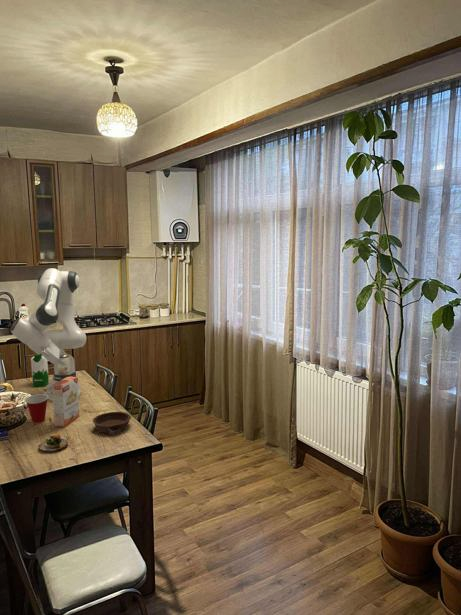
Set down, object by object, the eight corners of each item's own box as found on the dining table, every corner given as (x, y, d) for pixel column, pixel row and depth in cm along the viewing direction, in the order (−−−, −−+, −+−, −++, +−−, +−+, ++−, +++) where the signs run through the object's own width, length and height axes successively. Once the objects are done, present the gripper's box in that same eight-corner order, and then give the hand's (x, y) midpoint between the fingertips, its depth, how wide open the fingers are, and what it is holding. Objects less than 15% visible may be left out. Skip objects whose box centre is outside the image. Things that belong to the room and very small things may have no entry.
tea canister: (56, 373, 222) (54, 355, 221) (66, 371, 226) (65, 353, 225) (62, 375, 218) (60, 357, 217) (72, 373, 223) (71, 355, 221)
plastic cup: (22, 425, 222) (20, 401, 220) (32, 416, 232) (30, 394, 231) (44, 425, 221) (42, 401, 220) (53, 416, 232) (52, 394, 230)
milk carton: (31, 387, 280) (28, 355, 277) (36, 383, 289) (34, 352, 286) (46, 387, 280) (43, 355, 277) (50, 382, 289) (48, 351, 286)
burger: (34, 448, 197) (33, 431, 196) (60, 439, 206) (59, 423, 205) (45, 457, 189) (44, 439, 188) (73, 447, 197) (72, 431, 196)
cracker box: (65, 427, 218) (62, 385, 215) (54, 426, 220) (51, 384, 217) (80, 416, 232) (78, 376, 229) (69, 415, 233) (67, 376, 230)
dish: (125, 417, 231) (125, 407, 230) (136, 433, 211) (135, 422, 211) (89, 423, 224) (89, 413, 223) (97, 440, 204) (97, 429, 203)
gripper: (45, 344, 208) (69, 363, 212) (47, 336, 227) (69, 353, 232) (35, 355, 207) (60, 374, 212) (38, 345, 226) (61, 363, 231)
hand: (65, 363), depth 222 cm, fingers closed on tea canister, 5 cm apart
